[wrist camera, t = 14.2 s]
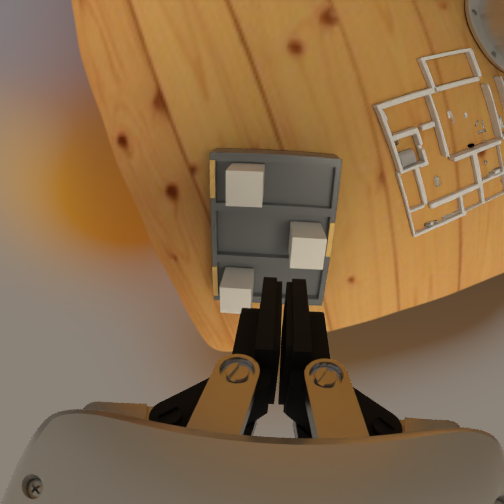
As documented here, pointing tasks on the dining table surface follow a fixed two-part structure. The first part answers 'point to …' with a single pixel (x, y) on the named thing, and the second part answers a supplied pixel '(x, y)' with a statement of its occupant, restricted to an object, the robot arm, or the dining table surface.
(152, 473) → the robot arm
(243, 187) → the white rectangular block
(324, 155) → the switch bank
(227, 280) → the tab
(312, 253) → the white block
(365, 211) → the dining table surface
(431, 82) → the floor plan model
